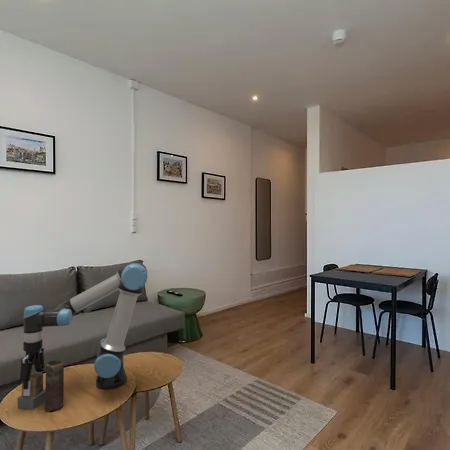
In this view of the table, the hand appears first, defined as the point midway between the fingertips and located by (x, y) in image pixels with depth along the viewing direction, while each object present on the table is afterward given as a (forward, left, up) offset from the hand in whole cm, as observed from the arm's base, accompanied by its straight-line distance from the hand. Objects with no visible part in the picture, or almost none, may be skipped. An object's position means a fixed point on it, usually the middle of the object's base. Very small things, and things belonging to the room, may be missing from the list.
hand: (32, 390), depth 147 cm
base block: (0, 0, -6) cm, 6 cm away
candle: (-11, +2, -6) cm, 13 cm away
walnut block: (0, 0, -1) cm, 1 cm away
